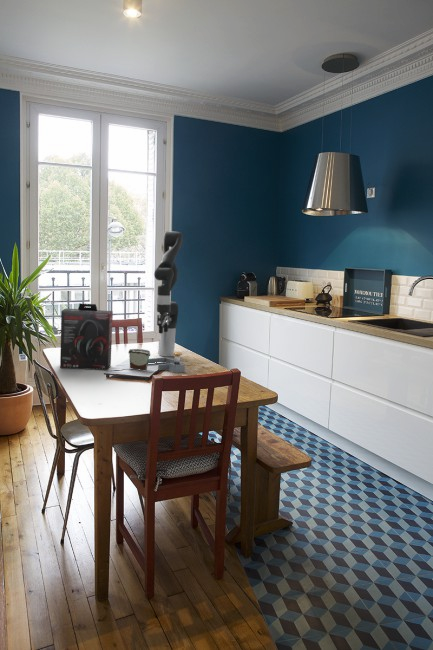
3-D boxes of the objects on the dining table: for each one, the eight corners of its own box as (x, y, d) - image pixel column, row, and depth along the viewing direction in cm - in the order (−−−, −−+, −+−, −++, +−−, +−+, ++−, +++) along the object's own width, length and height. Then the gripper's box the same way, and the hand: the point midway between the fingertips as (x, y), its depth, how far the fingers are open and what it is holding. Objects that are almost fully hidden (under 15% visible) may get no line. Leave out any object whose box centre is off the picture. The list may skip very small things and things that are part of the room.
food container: (153, 369, 269) (154, 350, 268) (148, 371, 263) (149, 352, 262) (133, 366, 273) (134, 348, 272) (127, 368, 267) (128, 349, 266)
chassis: (141, 364, 278) (141, 357, 277) (165, 362, 289) (165, 355, 289) (168, 373, 261) (169, 366, 260) (192, 370, 272) (193, 363, 272)
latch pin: (171, 363, 268) (171, 352, 267) (177, 362, 271) (178, 352, 270) (176, 364, 265) (177, 354, 264) (182, 364, 268) (183, 353, 267)
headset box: (58, 368, 255) (60, 303, 251) (63, 363, 267) (66, 301, 264) (107, 370, 257) (111, 306, 254) (110, 365, 270) (113, 304, 266)
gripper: (161, 303, 290) (161, 331, 291) (152, 303, 276) (152, 333, 277) (174, 303, 288) (173, 331, 290) (165, 304, 274) (165, 333, 276)
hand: (163, 332), depth 283 cm, fingers open, 8 cm apart
